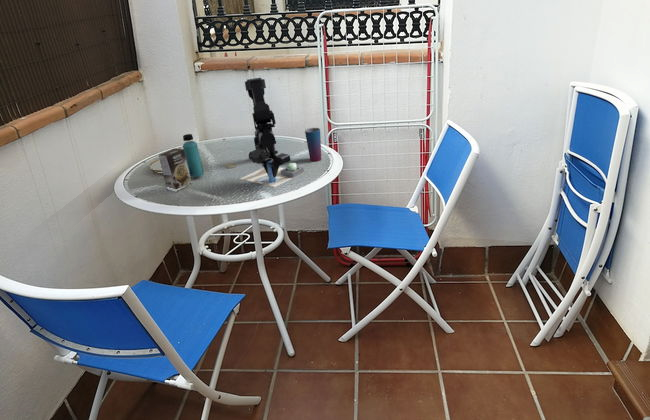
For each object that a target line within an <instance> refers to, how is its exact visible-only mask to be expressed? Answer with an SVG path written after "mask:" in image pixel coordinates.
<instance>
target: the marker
mask: <svg viewBox="0 0 650 420" xmlns="http://www.w3.org/2000/svg"><path fill="white" fill-rule="evenodd" d="M271 161H272V160H271ZM271 161H268V162H266V165H267V169H268V175H269V182H275V181H276V177H273V173H272V168H271V166H270V165H269V163H271Z"/></svg>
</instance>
